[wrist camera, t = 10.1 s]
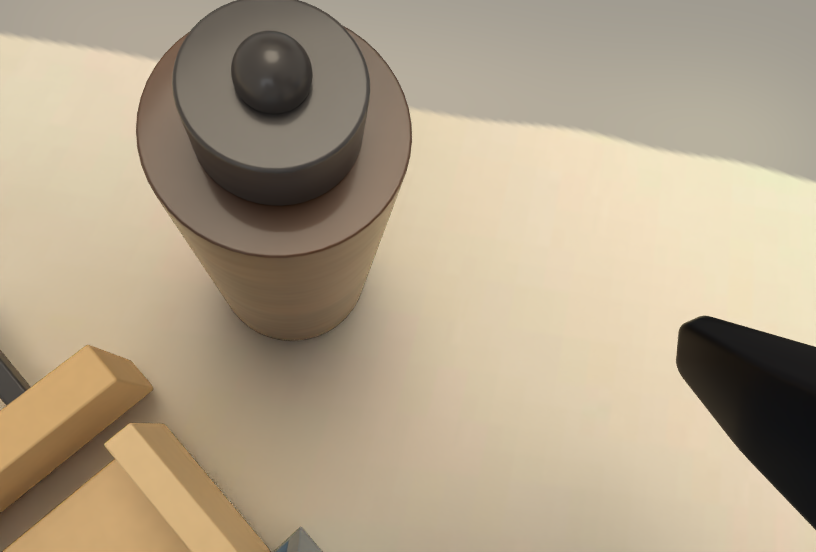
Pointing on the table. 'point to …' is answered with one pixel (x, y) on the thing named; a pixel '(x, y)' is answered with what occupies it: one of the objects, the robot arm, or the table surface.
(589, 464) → the table surface
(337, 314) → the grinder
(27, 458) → the drawer
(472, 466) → the table surface
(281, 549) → the cabinet
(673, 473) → the table surface
